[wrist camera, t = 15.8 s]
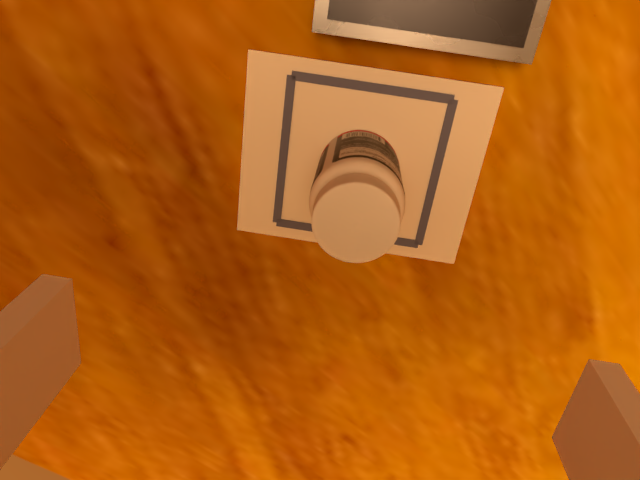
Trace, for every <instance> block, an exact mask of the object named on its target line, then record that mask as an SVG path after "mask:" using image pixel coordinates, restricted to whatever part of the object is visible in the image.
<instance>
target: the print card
mask: <svg viewBox="0 0 640 480" xmlns="http://www.w3.org/2000/svg"><path fill="white" fill-rule="evenodd" d="M503 90H504V87H500V86H493V85H486V84H480V83H473V82H466V81H460V80H453V79H446V78H439V77H433V76H426V75H419V74H413V73H406V72H399V71H393V70H386V69H379V68H372V67H366V66H359V65H352V64H346V63H339V62H332V61H325V60H319V59H312V58H305V57H299V56H292V55H285V54H278V53H272V52H265V51H258V50H252V49H248V61H247V77H246V93H245V109H244V125H243V141H242V157H241V173H240V190H239V206H238V222H237V230H240V231H247V232H253V233H260V234H266V235H272V236H279V237H285V238H291V239H298V240H304V241H311V242H317V241H316V239H315V237H314V234H313V231H312V225H311V214H310V209H309V196H310V191H311V187H312V184H313V181H314V177H315V174H316V170H317V167H318V163H319V160H320V157H321V154H322V152H323V150H324V149H325V147H326V146H327V144H328V143H329V142H330V141H331V140H332V139H334V138H335V137H336V136H338V135H340V134H342V133H344V132H347V131H351V130H368V131H371V132H374V133H377V134H379V135H380V136H382V137H383V138H385V139H386V140H387V141H388V142H389V143H390V144H391V146H392V147H393V149H394V151H395V153H396V155H397V158H398V161H399V166H400V172H401V178H402V183H403V187H404V192H405V212H404V216H403V219H402V222H401V225H400V232H399V235H398V238H397V240H396V241H395V243H394V245H393V246H392V247H391V248H390V249H389V250H388V251H387V252H386V253H387V254H394V255H400V256H406V257H413V258H419V259H426V260H432V261H438V262H445V263H451V264H454V261H455V258H456V254H457V251H458V247H459V244H460V240H461V237H462V233H463V230H464V226H465V223H466V219H467V216H468V212H469V209H470V205H471V202H472V198H473V195H474V191H475V188H476V184H477V181H478V177H479V174H480V170H481V167H482V163H483V160H484V156H485V153H486V149H487V146H488V142H489V139H490V136H491V132H492V129H493V125H494V122H495V118H496V115H497V111H498V108H499V104H500V101H501V97H502V94H503Z"/></svg>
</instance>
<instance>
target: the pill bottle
mask: <svg viewBox="0 0 640 480" xmlns="http://www.w3.org/2000/svg"><path fill="white" fill-rule="evenodd" d="M309 209H310V214H311V225H312V231H313V234H314V237H315V239H316V241H317V243H318V244H319V245H320V247H321V248H322V249H323V250H324V251H325V252H326V253H328V254H329V255H331V256H332V257H334V258H336V259H338V260H341V261H344V262H349V263H364V262H369V261H372V260H375V259H377V258H379V257H381V256H382V255H384V254H385V253H386V252H387V251H388V250H389V249H390V248H391V247H392V246H393V245H394V243H395V241H396V240H397V238H398V235H399V232H400V225H401V222H402V219H403V216H404V212H405V192H404V187H403V183H402V178H401V172H400V166H399V161H398V158H397V155H396V153H395V151H394V149H393V147H392V146H391V144H390V143H389V142H388V141H387V140H386V139H385V138H383V137H382V136H380V135H379V134H377V133H374V132H371V131H368V130H351V131H347V132H344V133H342V134H340V135H338V136H336V137H335V138H334V139H332V140H331V141H330V142H329V143H328V144H327V146H326V147H325V149H324V150H323V152H322V154H321V157H320V160H319V163H318V167H317V170H316V174H315V177H314V181H313V184H312V187H311V191H310V196H309Z"/></svg>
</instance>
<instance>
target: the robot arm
mask: <svg viewBox="0 0 640 480" xmlns="http://www.w3.org/2000/svg"><path fill="white" fill-rule="evenodd" d="M80 364H81V356H80V347H79V338H78V329H77V319H76V310H75V301H74V292H73V283H72V279H71V278H65V277H59V276H52V275H46V274H42V275H41V276H40V277H38V278H37V279H36V280H35V281H34V282H33V283H32V284H31V285H29V286H28V287H27V288H26V289H25V290H24V291H23V292H22V293H20V294H19V295H18V296H17V297H16V298H15V299H14V300H13V301H11V302H10V303H9V304H8V305H7V306H6V307H5V308H4V309H3V310H1V311H0V470H1V468H2V467H3V465H4V464H5V463H6V462H7V460H8V459H9V457H10V456H11V455H12V454H13V452H14V451H15V450H16V448H17V447H18V446H19V444H20V443H21V442H22V440H23V439H24V438H25V437H26V435H27V434H28V433H29V431H30V430H31V429H32V427H33V426H34V425H35V423H36V422H37V421H38V419H39V418H40V417H41V415H42V414H43V413H44V411H45V410H46V409H47V407H48V406H49V405H50V403H51V402H52V401H53V399H54V398H55V397H56V395H57V394H58V393H59V392H60V390H61V389H62V388H63V386H64V385H65V384H66V382H67V381H68V380H69V378H70V377H71V376H72V374H73V373H74V372H75V370H76V369H77V368H78V366H79V365H80ZM552 439H553V441H554V444H555V446H556V449H557V451H558V454H559V456H560V459H561V461H562V463H563V466H564V468H565V471H566V473H567V476H568V478H569V480H640V394H639V392H638V391H637V389H636V388H635V386H634V385H633V383H632V382H631V380H630V379H629V377H628V376H627V374H626V373H625V371H624V370H623V368H622V367H621V365H620V364H617V363H610V362H604V361H597V360H591V359H589V360H588V362H587V364H586V366H585V369H584V371H583V373H582V375H581V377H580V379H579V381H578V383H577V385H576V387H575V390H574V392H573V394H572V396H571V398H570V400H569V402H568V404H567V406H566V409H565V411H564V413H563V415H562V417H561V419H560V421H559V423H558V425H557V427H556V430H555V432H554V434H553V436H552Z"/></svg>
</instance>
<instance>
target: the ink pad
mask: <svg viewBox="0 0 640 480" xmlns="http://www.w3.org/2000/svg"><path fill="white" fill-rule="evenodd" d="M550 3H551V0H315V7H314V16H313V25H312V32H315V33H322V34H329V35H335V36H342V37H349V38H356V39H363V40H369V41H376V42H383V43H390V44H396V45H403V46H410V47H417V48H423V49H430V50H437V51H444V52H450V53H457V54H464V55H471V56H477V57H484V58H491V59H498V60H504V61H511V62H518V63H525V64H532V62H533V59H534V55H535V52H536V49H537V45H538V42H539V39H540V35H541V32H542V29H543V26H544V22H545V19H546V16H547V12H548V9H549V6H550Z"/></svg>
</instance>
